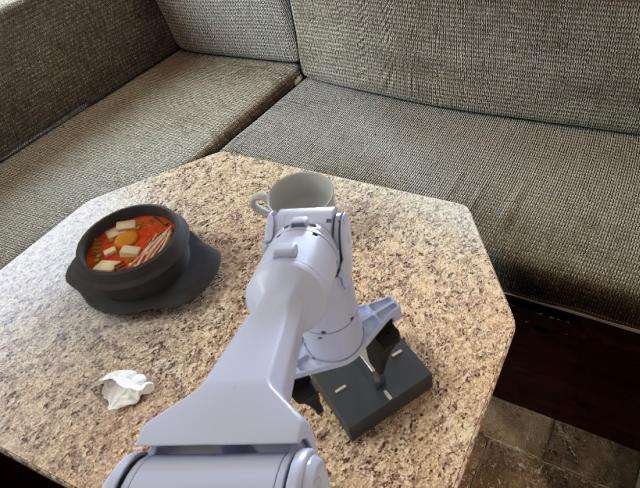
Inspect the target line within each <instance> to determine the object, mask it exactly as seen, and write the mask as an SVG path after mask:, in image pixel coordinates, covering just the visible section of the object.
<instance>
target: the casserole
mask: <svg viewBox="0 0 640 488" xmlns="http://www.w3.org/2000/svg"><path fill="white" fill-rule="evenodd" d="M221 262H222V255H221V253H220V251H219V250H218V249H217V248H215V247H213V246H211V245H210V244H208V243H206V242H204V241H203V240H202V239H201V238H200V237H199V236H198V235H197V234H196V233H195V232H194V231H192V230H191V229H190V225H189V223H188V221H187V220H186V218H184V217H183V215H181V214H179V213H177V212H175V211H173V210H172V209H171V208H168V207H167V206H164V205H161V204H156V203H139V204H133V205H129V206H125V207H123V208H120V209H117V210H115V211H113V212H110V213H109V214H107V215H105V216H103V217H101V218H100V219H99V220H97V221H96V222H95V223H93V224H92V225H91V226H90V227H89V228H88V229H87V230H86V231H85V232H84V233H83V235H82V236H81V237H80V239H79V241H78V243H77V244H76V249H75V256H74V257H73V259H72V260H71V262H70V264H69V266H68V267H67V269H66V271H65V275H64V277H65V282H66V283H67V284H68V285H69V286H70V287H71V288H72V289H74V290H75V291H77V292H78V293H79V294H80V296H81V297H82V298H83V300H84V301H85V303H86V304H87V305H88V306H90V307H91V308H92V309H94V310H95V311H98V312H101V313H103V314H109V315H130V314H134V313H135V314H136V313H139V312H145V311H150V310H155V309H156V310H157V309H172V308H174V309H175V308H179V307H181V306H184V305H187V304H188V303H190V302H192V301H194V300H195V299H196V298H197V297H199V296H200V295H201V294H202V293H203V292H204V291H205V290H206V289H207V288H208V287H209V286H210V285H211V283H213V281H214V279H215V278H216V275H217V274H218V272H219V270H220V266H221V264H222V263H221Z"/></svg>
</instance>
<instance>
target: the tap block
mask: <svg viewBox="0 0 640 488" xmlns="http://www.w3.org/2000/svg"><path fill="white" fill-rule="evenodd" d="M384 372H385V377H386V384H384V385H383V386H381V387H380V388H378V389H375V388H374V387H373V386H372V384H371V383H370V381H369V380H368V379H367V377H366V376H365V375H364V373H363V372H362V370H361V369H360V368H359V366H358V365H357V364H356V362H355V361H352V362H351V363H349V364H347V365H345V366H342V367H338V368H334V369H331V370H327V371H323V372H320V373H316V374H312V375H310V376H311V379H312V381H313V382H314V384H315V385H316V387H317V388H318V390H319V391H320V392H319V395H320V396H321V397H322V398H323V401H324V402H325V403H326V405H327V406H328V407H329V409H330V411H331V412H332V414H333V415H334V417H335V418H336V420H337V421H338V423H339V424H340V426H341V427H342V429H343V431H344V432H345V433H346V435H347V436H348V438H349V440H350V441H351V442H354V441H355V440H357V439H359V438H360V437H362V436H363V435H364V434H366V433H368V432H369V431H371V430H372V429H373V428H374V427H376V426H378V425H380V424H381V423H382V422H384V421H385V420H386V419H388V418H389V417H391V416H392V415H394V414H396V413H397V412H399V411H400V410H401V409H402V408H404V407H406V406H407V405H408V404H410V403H412V402H413V401H414V400H416V399H417V398H419V397H420V396H422V395H423V394H425V393H426V392H428V391H430V390H431V389H432V388H433V387H434V379H433V373H432V371H430V368H428V367H427V366H426V365H425V364H424V362H423V361H422V360H421V358H419V356H418V355H417V354H416V353H415V352H414V350H413V349H412V348H411V347H410V346H409V345H408V344H407V342H406V341H405V339H404V338H402V336H401V335H400V342H399V343H397V345H396V346H395V347H394V348H393V350H392V351H391V353H390V355H389V358H388V361H387V364H386V367H385V371H384Z"/></svg>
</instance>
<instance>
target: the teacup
mask: <svg viewBox="0 0 640 488" xmlns="http://www.w3.org/2000/svg"><path fill="white" fill-rule="evenodd" d="M257 201H262V202H264V203H265V204H266V206H267V208H266V207H263V206H262V205H260V204H259V203H258V202H257ZM249 206H250V209H251V210H252V211H253V212H254V213H256V214H258V215H259V216H261V217H265V218H267V217H268V214H269V213H270V212H271V211H273V210H275V211H276V212H277V213H278V212H279V211H280V210H281V209H295V208H316V207H337V208H338V205H337V200H336V195H335V187H334V184H333V182H332V180H331V179H330V178H328V176H327V175H324V174H322V173H320V172H317V171H312V170H311V171H310V170H303V171H302V170H301V171H295V172H292V173H289V174H286V175H284V176H281V178H280V179H278V180H276V181H275V182H274V183H273V184H272V185H271V187H270V188H269V190H268V191H267V193H266V192H262V191H257V192H254V193H252V195H251V196H250V198H249Z"/></svg>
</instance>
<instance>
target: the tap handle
mask: <svg viewBox="0 0 640 488" xmlns="http://www.w3.org/2000/svg"><path fill="white" fill-rule="evenodd" d="M354 361H355V362H356V364H357V365H358V366H359V368H360V369H361V370H362V372H363V373H364V375H365V376H366V377H367V379H368V380H369V381H370V383H371V384H372V386H373V387H374V388H375V389H378V388H380V387H381V386H383V385H384V384H386V377H385V372H384V373H383V374H381V375H380V376H379V374H378V373H377V372H376V370H375V369H374V368H373V366H372V365H371V364H370V362H369V359H368V356H367V351H366V348H365V349H364V351H363V352H362V353H361V354H360V355H359V356H358V357H357V358H356V359H355V360H354Z"/></svg>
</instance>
